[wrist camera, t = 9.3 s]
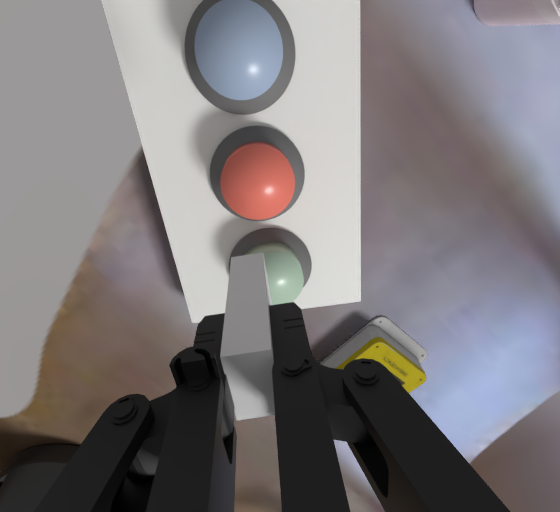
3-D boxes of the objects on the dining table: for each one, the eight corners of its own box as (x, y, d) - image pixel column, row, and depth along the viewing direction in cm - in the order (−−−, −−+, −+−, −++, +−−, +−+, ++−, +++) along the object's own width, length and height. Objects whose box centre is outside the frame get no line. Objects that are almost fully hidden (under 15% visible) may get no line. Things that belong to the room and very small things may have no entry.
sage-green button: (245, 297, 30) (244, 312, 28) (235, 245, 28) (234, 257, 26) (302, 290, 30) (306, 304, 28) (297, 237, 28) (301, 249, 26)
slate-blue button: (208, 103, 23) (204, 105, 21) (191, 11, 21) (185, 3, 19) (284, 94, 23) (287, 94, 21) (275, 1, 21) (278, -8, 19)
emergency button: (447, 379, 36) (345, 451, 41) (429, 351, 40) (337, 419, 45) (394, 336, 33) (289, 419, 38) (379, 310, 37) (286, 387, 41)
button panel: (197, 304, 35) (191, 325, 32) (112, -12, 23) (91, -27, 20) (352, 284, 35) (361, 303, 32) (347, -40, 23) (361, -60, 20)
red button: (229, 213, 27) (227, 224, 25) (216, 146, 24) (213, 151, 22) (294, 205, 27) (298, 214, 25) (288, 136, 24) (291, 141, 22)
